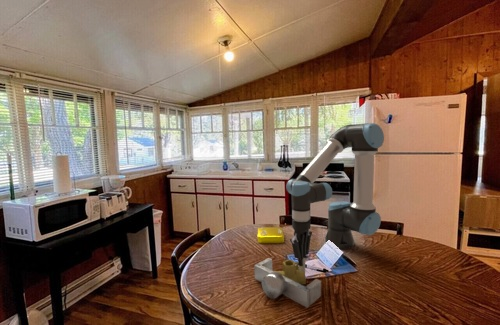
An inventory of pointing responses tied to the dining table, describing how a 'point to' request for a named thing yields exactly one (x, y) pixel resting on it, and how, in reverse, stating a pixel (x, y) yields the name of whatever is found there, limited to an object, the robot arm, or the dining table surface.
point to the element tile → (270, 235)
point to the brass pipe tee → (293, 272)
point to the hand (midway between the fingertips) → (302, 272)
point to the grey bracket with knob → (285, 285)
